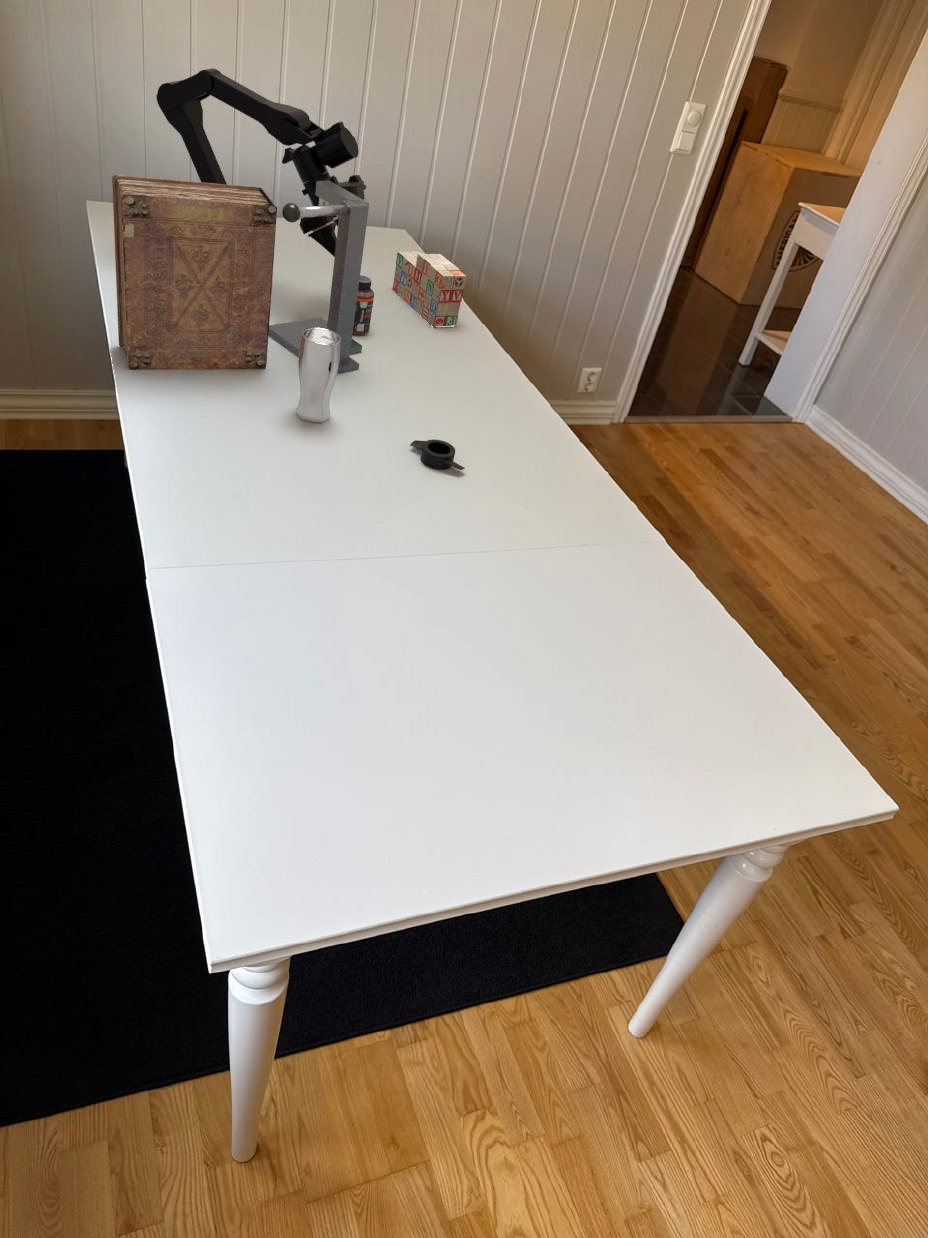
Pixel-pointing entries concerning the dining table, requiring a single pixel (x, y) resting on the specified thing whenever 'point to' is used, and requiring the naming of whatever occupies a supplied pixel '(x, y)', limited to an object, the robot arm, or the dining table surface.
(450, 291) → the stack of blocks
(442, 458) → the black winged ring
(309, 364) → the beer glass
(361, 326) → the supplement bottle
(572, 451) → the dining table surface
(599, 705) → the dining table surface
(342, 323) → the arbor press
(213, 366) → the book
